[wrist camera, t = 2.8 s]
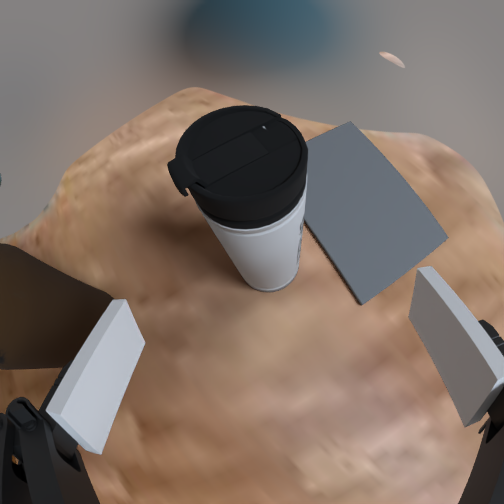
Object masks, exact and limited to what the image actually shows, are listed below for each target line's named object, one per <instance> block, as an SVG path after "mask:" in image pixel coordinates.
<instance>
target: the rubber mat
mask: <svg viewBox="0 0 504 504" xmlns="http://www.w3.org/2000/svg"><path fill="white" fill-rule="evenodd" d="M306 145H307V147H308V163H307V190H306V201H305V212H304V221H305V223H306V224H307V226H308V227H309V229H310V230H311V231H312V233H313V234H314V236H315V237H316V238H317V240H318V241H319V243H320V244H321V246H322V247H323V249H324V250H325V252H326V253H327V254H328V256H329V257H330V259H331V260H332V262H333V263H334V265H335V266H336V268H337V269H338V271H339V272H340V274H341V275H342V277H343V278H344V280H345V281H346V283H347V284H348V286H349V287H350V289H351V291H352V292H353V294H354V295H355V297H356V298H357V300H358V301H359V303H360V305H363V304H364V303H366V302H367V301H369V300H370V299H371V298H373V297H374V296H376V295H377V294H378V293H380V292H381V291H382V290H384V289H385V288H387V287H388V286H389V285H391V284H392V283H393V282H395V281H396V280H397V279H399V278H400V277H401V276H402V275H404V274H405V273H406V272H408V271H409V270H410V269H411V268H413V267H414V266H415V265H416V264H418V263H419V262H420V261H421V260H423V259H424V258H425V257H426V256H427V255H429V254H430V253H431V252H432V251H433V250H435V249H436V248H437V247H438V246H439V245H441V244H442V243H443V242H444V241H445V240H446V239H448V238H449V237H448V236H447V235H446V233H445V232H444V230H443V229H442V227H441V226H440V224H439V223H438V222H437V220H436V219H435V218H434V216H433V215H432V213H431V212H430V211H429V209H428V208H427V207H426V205H425V204H424V203H423V202H422V200H421V199H420V198H419V196H418V195H417V194H416V193H415V191H414V190H413V189H412V188H411V186H410V185H409V184H408V183H407V182H406V180H405V179H404V178H403V177H402V176H401V174H400V173H399V172H398V171H397V170H396V169H395V168H394V166H393V165H392V164H391V163H390V162H389V161H388V160H387V159H386V157H385V156H384V155H383V154H382V153H381V152H380V151H379V150H378V149H377V148H376V147H375V146H374V145H373V143H372V142H371V141H370V140H369V139H368V138H367V137H366V136H365V135H364V134H363V133H362V132H361V131H360V130H359V129H358V128H357V127H356V126H355V125H354V124H353V123H352V122H348V123H346V124H343V125H341V126H339V127H337V128H334V129H332V130H330V131H328V132H326V133H324V134H321V135H319V136H317V137H315V138H313V139H311V140H309V141H307V142H306Z"/></svg>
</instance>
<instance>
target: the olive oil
mask: <svg viewBox="0 0 504 504" xmlns="http://www.w3.org/2000/svg"><path fill="white" fill-rule="evenodd" d="M112 300H114V298H113V297H111V296H110V295H109V294H107V293H105V292H103V291H101V290H99V289H96V288H94V287H92V286H90V285H87V284H85V283H83V282H81V281H78V280H76V279H74V278H72V277H70V276H68V275H66V274H64V273H62V272H60V271H59V270H57V269H55V268H53V267H51V266H49V265H47V264H45V263H44V262H42V261H40V260H38V259H36V258H35V257H33V256H31V255H29V254H28V253H26V252H24V251H22V250H21V249H19V248H17V247H15V246H12V245H8V244H1V243H0V369H5V370H13V369H40V368H61V367H64V366H65V365H66V364H67V363H69V362H70V361H71V360H74V359H75V357H76V356H77V354H78V352H79V351H80V349H81V348H82V346H83V344H84V343H85V341H86V340H87V338H88V336H89V335H90V333H91V332H92V330H93V329H94V327H95V326H96V324H97V323H98V321H99V319H100V318H101V316H102V315H103V313H104V312H105V310H106V309H107V307H108V306H109V305H110V303H111V302H112Z"/></svg>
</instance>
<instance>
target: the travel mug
mask: <svg viewBox="0 0 504 504" xmlns="http://www.w3.org/2000/svg"><path fill="white" fill-rule="evenodd" d="M307 163H308V147H307V145H306V142H305V140H304V138H303V136H302V134H301V133H300V131H299V130H298V129H297V128H296V126H294V125H293V124H292V123H291V122H289V121H288V120H286V119H283V118H281V115H280V114H278V113H276V112H274V111H272V110H270V109H268V108H263V107H258V106H247V105H243V106H231V107H226V108H222V109H219V110H216V111H213V112H210V113H208V114H206V115H204V116H202V117H201V118H199V119H198V120H197V121H195V122H194V123H193V124H192V125H191V126H190V127H189V128H188V129H187V130H186V131H185V132H184V134H183V135H182V137H181V138H180V140H179V143H178V145H177V148H176V155H175V159H173V160H171V161H170V162H168V164H167V166H168V170H169V173H170V175H171V178H172V180H173V182H174V184H175V186H176V187H177V189H178V190H179V192H180V193H181V194H182V195H184V196H185V197H186V196H188V193H187V191H186V190H185V188H188V189H189V190H190V193H191V195H192V196H193V198H194V199H195V202H196V204H197V206H198V208H199V210H200V211H201V212H202V214H203V216H204V218H205V219H206V221H207V222H208V224H209V225H210V227H211V229H212V230H213V232H214V233H215V235H216V236H217V238H218V240H219V241H220V243H221V244H222V246H223V247H224V249H225V251H226V252H227V254H228V255H229V257H230V258H231V260H232V261H233V263H234V265H235V266H236V268H237V269H238V271H239V272H240V274H241V275H242V277H243V278H244V280H245V281H246V282H247V284H249V285H250V286H251V287H252V288H254V289H256V290H259V291H262V292H275V291H279V290H281V289H283V288H285V287H286V286H288V285H289V284H290V283H291V282H292V281H293V280H294V278H295V276H296V274H297V271H298V267H299V258H300V250H301V241H302V232H303V222H304V212H305V201H306V190H307Z"/></svg>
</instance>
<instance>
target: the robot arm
mask: <svg viewBox="0 0 504 504" xmlns="http://www.w3.org/2000/svg"><path fill="white" fill-rule="evenodd" d="M0 185H1V174H0ZM409 319H410V321H411V322H412V324H413V326H414V328H415V329H416V331H417V333H418V335H419V336H420V338H421V340H422V342H423V343H424V345H425V347H426V349H427V351H428V353H429V354H430V356H431V358H432V360H433V362H434V364H435V366H436V368H437V370H438V372H439V374H440V376H441V378H442V380H443V382H444V384H445V386H446V388H447V390H448V392H449V394H450V396H451V398H452V400H453V402H454V405H455V407H456V409H457V411H458V413H459V416H460V418H461V420H462V423H463V425H464V427H467V426H469V425H471V424H474V423H476V422H478V421H480V420H481V419H482V417H483V416H484V415H485V413H486V412H488V414H489V416H490V417H489V419H488V420H487V421H486V422H485V423H484V425H483V426H482V427H481V428H480V430H479V432H478V433H479V434H480V433H481V432H482V431H483V430H484V429H485V431H484V434H483V438H482V442H481V445H480V448H479V451H478V454H477V457H476V460H475V463H474V466H473V469H472V472H471V474H470V477H469V479H468V482H467V484H466V487H465V489H464V492H463V494H462V496H461V498H460V501H459V503H458V504H504V341H503V339H502V338H501V337H499V334H498V333H497V331H496V330H495V329H494V327H493V326H492V325H490V324H489V323H487V322H486V321H484V320H480V321H477V319H476V318H475V317H474V316H473V314H472V313H471V312H470V311H469V309H468V308H467V307H466V306H465V304H464V303H463V302H462V301H461V299H460V298H459V297H458V296H457V295H456V294H455V292H454V291H453V290H452V289H451V288H450V286H449V285H448V284H447V283H446V282H445V281H444V280H443V278H442V277H441V276H440V275H439V274H438V273H437V272H436V271H435V270H434V268H433V267H432V266H428V267H421V268H417V273H416V280H415V286H414V291H413V297H412V302H411V307H410V312H409ZM144 345H145V341H144V339H143V337H142V335H141V333H140V330H139V328H138V326H137V324H136V322H135V319H134V317H133V315H132V312H131V310H130V308H129V305H128V303H127V301H126V299H120V300H112V302H111V303H110V305H109V306H108V307H107V309H106V310H105V312H104V313H103V315H102V316H101V318H100V319H99V321H98V323H97V324H96V326H95V327H94V329H93V330H92V332H91V333H90V335H89V336H88V338H87V340H86V341H85V343H84V344H83V346H82V348H81V349H80V351H79V352H78V354H77V356H76V357H75V359H74V360H71V361H70V362H69V363H67V364H66V365H65V366H64V367H63V369H62V370H61V372H60V374H59V375H58V378H57V379H56V381H55V382H54V386H52V387H51V389H50V391H49V393H48V394H47V396H46V398H45V400H44V402H43V404H42V405H41V407H40V409H39V411H38V410H37V409H36V408H35V407H34V406H33V405H32V404H31V403H30V401H29V400H28V399H26V398H24V397H19V398H16V399H15V400H13V401H12V402H11V403H10V404H9V405H8V407H7V410H6V415H5V414H3V413H0V504H100V502H99V500H98V498H97V496H96V493H95V491H94V489H93V486H92V484H91V481H90V479H89V476H88V474H87V471H86V469H85V466H84V463H83V460H82V457H81V454H80V453H79V451H78V450H77V449H76V448H77V445H78V444H80V445H81V446H82V447H83V448H84V449H85V450H86V451H90V452H93V453H97V454H100V455H101V454H102V451H103V448H104V446H105V443H106V440H107V437H108V435H109V432H110V429H111V427H112V424H113V421H114V419H115V416H116V413H117V411H118V408H119V406H120V403H121V401H122V398H123V395H124V393H125V390H126V388H127V386H128V383H129V381H130V378H131V376H132V373H133V371H134V369H135V366H136V364H137V362H138V359H139V357H140V355H141V352H142V350H143V348H144ZM12 455H13V456H14V457H16V458H17V459H18V465H17V464H15V463H14V462H13V461H12Z"/></svg>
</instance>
